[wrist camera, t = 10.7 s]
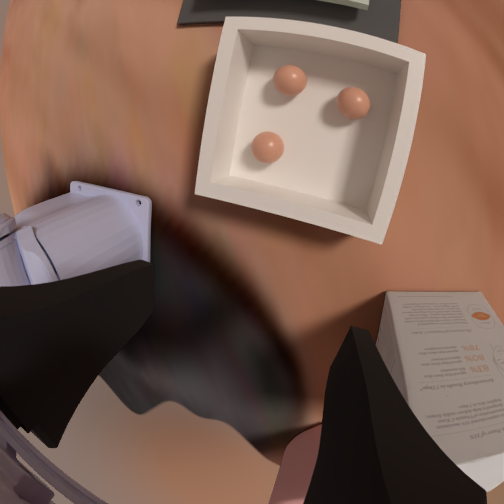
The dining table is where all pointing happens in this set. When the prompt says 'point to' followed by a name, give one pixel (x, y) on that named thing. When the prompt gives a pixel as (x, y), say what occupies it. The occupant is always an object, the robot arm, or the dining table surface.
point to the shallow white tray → (310, 123)
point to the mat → (301, 14)
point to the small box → (450, 373)
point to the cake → (297, 468)
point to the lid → (351, 3)
